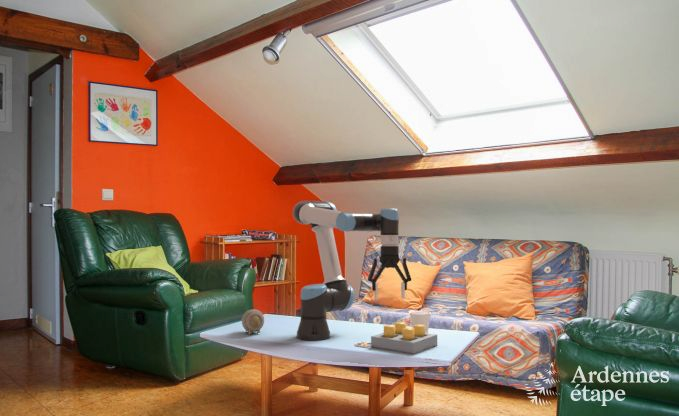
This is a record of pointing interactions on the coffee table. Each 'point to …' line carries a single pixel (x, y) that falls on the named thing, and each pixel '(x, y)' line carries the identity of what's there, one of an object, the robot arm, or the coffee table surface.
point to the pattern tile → (363, 344)
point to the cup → (420, 318)
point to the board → (404, 343)
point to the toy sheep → (253, 321)
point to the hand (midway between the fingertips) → (389, 298)
